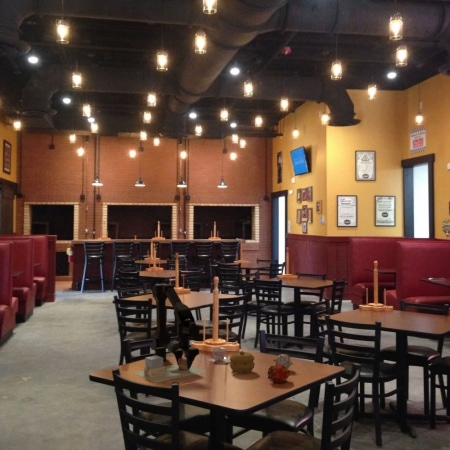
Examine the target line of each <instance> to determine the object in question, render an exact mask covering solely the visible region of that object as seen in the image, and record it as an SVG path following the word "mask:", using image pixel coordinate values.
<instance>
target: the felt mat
mask: <svg viewBox="0 0 450 450" xmlns="http://www.w3.org/2000/svg"><path fill="white" fill-rule="evenodd" d="M164 366H165V375H164V376H159V377H154V378H150V377H148V376H145V375H144V369H143V370H140V371H139V370H138V371H134V372H131V374H132V375H136V376H139V377H141V378H143V379H145V380H147V381H151V382H152V383H160V382H164V381H171V380H174V379H180V378H185V377H189V376H194V375H195V376H196V375H199V374H204V373H207V371H206V370H203V369H200V368H198V367H194V366H192V365H191V368H190V369H189V370H186V371H180V370H179V366H178V364H177V363H175V364H172V365H171V364H170V365H164Z"/></svg>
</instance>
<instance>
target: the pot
mask: <svg viewBox="0 0 450 450" xmlns="http://www.w3.org/2000/svg"><path fill="white" fill-rule="evenodd" d="M229 359H230V361H231V362H229V367H230V369H231V371H233V373H235V374H239V375H240V374H241V375H242V374H249V373H251V372H252V371H253V369H254V368H255V366H256V365H255V364H256V363H255V362H254V360H255V356H254V354H252V353H251V352H248V351H244V350H241V351H238V352H234V353H232V354H231V355H230V356H229Z"/></svg>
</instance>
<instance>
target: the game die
mask: <svg viewBox="0 0 450 450" xmlns="http://www.w3.org/2000/svg"><path fill="white" fill-rule="evenodd" d="M290 355H291V354H290V353H288V354H285V353H284V354H282V353H281V352H279V355H278V356H277V357H276V358H275V359H273V361H274V363H275V365H278V366H280V365H281V364H282V365H283V366H284V367H287V368H288V369H289V368H291V366H292V365H294V363H293V362H292V359H291V358H290Z"/></svg>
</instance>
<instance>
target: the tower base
mask: <svg viewBox="0 0 450 450" xmlns="http://www.w3.org/2000/svg"><path fill="white" fill-rule="evenodd" d="M165 366H166V365H163V367H159V368H153V369H151V368H149V367H146V366H145V365H144V366H143V370H144V375H145V376H148V377H150V378H154V377H159V376H164V375H165Z"/></svg>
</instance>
